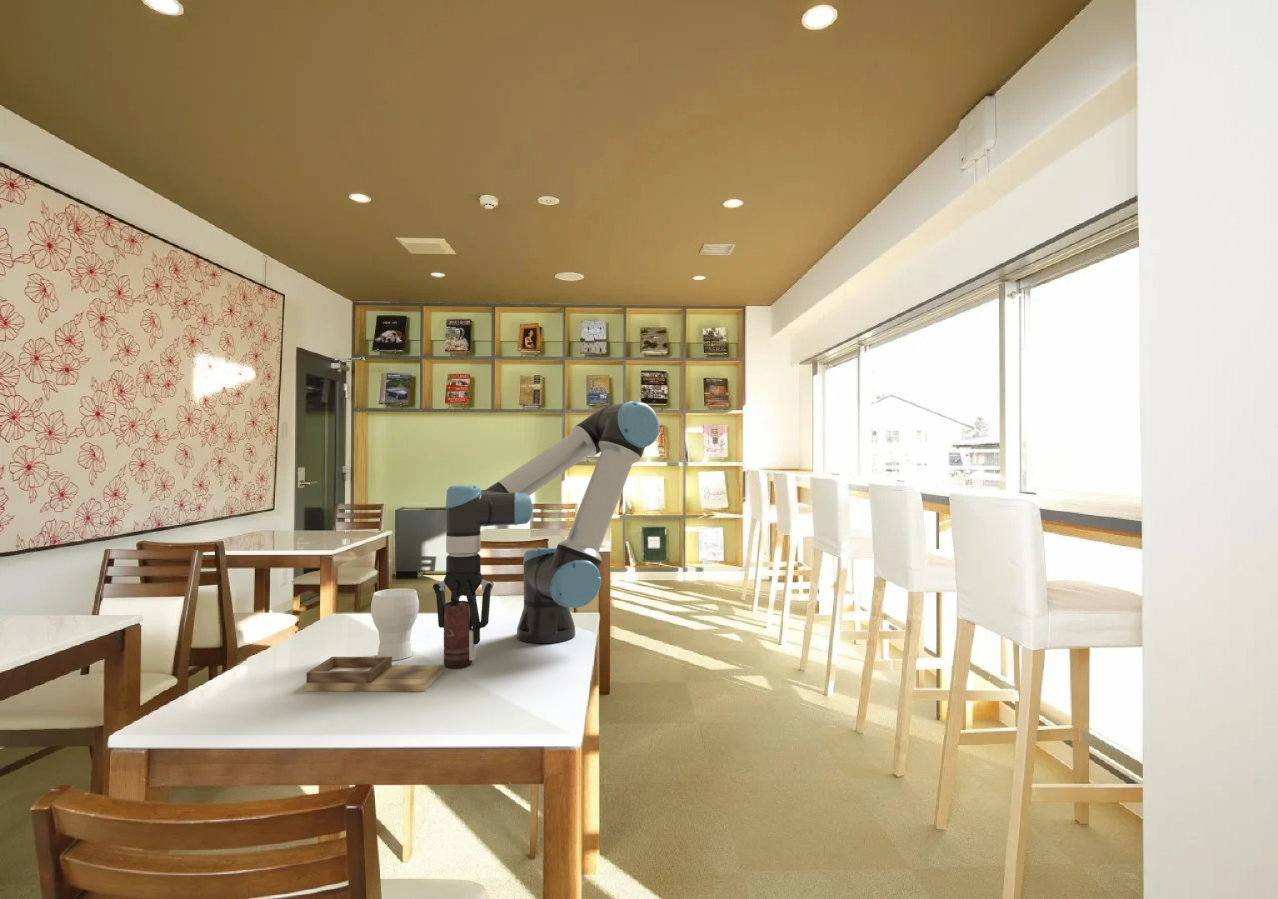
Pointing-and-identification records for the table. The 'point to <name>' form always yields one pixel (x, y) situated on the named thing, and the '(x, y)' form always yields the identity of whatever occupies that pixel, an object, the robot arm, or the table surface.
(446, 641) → the can
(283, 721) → the table surface
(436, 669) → the holder board
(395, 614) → the cup
